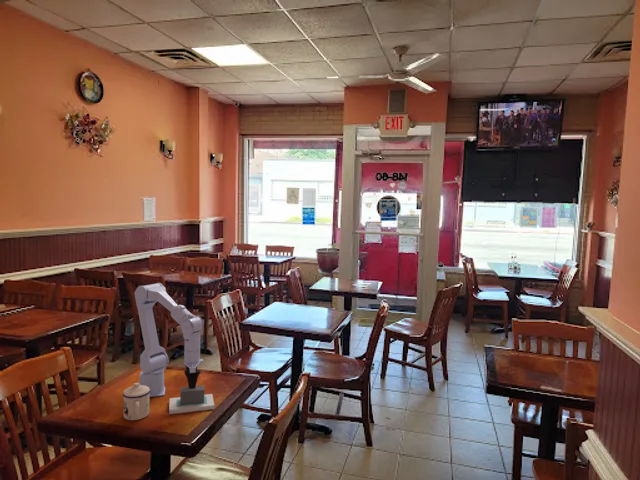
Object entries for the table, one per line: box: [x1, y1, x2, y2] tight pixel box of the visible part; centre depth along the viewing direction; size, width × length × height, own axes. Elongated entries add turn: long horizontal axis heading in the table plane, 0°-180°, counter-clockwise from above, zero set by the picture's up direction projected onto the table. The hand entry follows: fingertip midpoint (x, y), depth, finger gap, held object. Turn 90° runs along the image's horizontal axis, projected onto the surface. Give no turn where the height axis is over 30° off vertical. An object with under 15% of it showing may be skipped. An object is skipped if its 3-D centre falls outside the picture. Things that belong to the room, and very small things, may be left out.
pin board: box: [168, 393, 215, 415], centre depth 162 cm, size 16×10×5 cm, turn 108°
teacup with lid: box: [122, 382, 150, 421], centre depth 152 cm, size 12×9×12 cm
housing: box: [179, 384, 205, 405], centre depth 162 cm, size 9×4×5 cm, turn 108°
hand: (191, 384), depth 162 cm, fingers open, 7 cm apart
